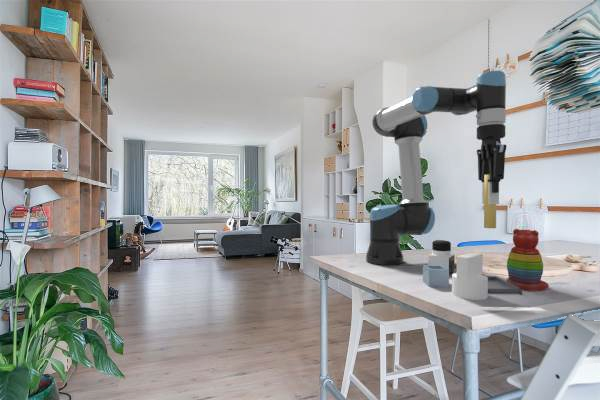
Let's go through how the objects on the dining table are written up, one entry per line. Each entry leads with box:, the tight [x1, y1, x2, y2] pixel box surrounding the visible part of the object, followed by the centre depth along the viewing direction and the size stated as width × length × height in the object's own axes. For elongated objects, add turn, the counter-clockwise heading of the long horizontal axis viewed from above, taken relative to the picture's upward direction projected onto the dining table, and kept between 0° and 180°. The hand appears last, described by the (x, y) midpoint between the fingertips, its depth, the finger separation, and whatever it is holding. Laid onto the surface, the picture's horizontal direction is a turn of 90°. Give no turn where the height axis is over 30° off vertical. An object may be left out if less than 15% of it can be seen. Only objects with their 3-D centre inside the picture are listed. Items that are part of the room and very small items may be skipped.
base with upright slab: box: [451, 252, 489, 301], centre depth 97 cm, size 9×9×12 cm
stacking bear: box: [506, 228, 549, 292], centre depth 106 cm, size 11×10×18 cm
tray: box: [485, 275, 523, 296], centre depth 105 cm, size 14×10×2 cm
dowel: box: [483, 174, 497, 229], centre depth 104 cm, size 3×3×16 cm
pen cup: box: [422, 264, 450, 288], centre depth 108 cm, size 6×6×6 cm
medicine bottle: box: [427, 239, 455, 276], centre depth 122 cm, size 7×7×12 cm
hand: (490, 203), depth 104 cm, fingers closed on dowel, 3 cm apart
